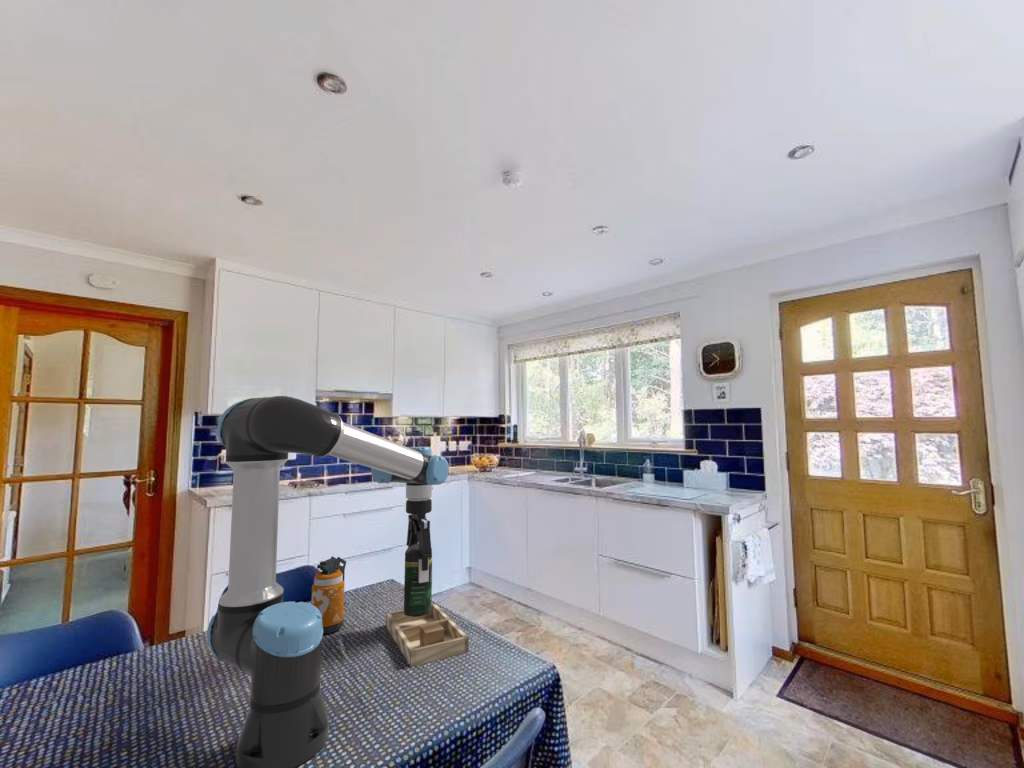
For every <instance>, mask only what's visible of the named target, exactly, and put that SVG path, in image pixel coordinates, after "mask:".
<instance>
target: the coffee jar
mask: <svg viewBox="0 0 1024 768" xmlns="http://www.w3.org/2000/svg"><path fill="white" fill-rule="evenodd" d="M431 552H432V553H433V549H432V547H431ZM404 555H405V556H404V581H403V582H404V592H403V593H404V594H403V609H404V614H405V615H406V616H412V617H420V616H423V615H427V614H429V612H430V610H431V604H432V598H433V596H432V593H433V592H432V588H433V556H432V557H429V581H428V582H423V583H419V560H418V557H420V553H419V545H418V544H413V545H412V546H410V547H409V548H408V547H407V549H406V550H405V553H404Z"/></svg>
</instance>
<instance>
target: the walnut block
mask: <svg viewBox="0 0 1024 768" xmlns="http://www.w3.org/2000/svg"><path fill="white" fill-rule="evenodd" d="M440 642H444V628H443V627H442V626H441V625H440V624H439V623H438V622H435V623H431V624H426V625H422V626H420V647H423V646H427V645H432V644H436V643H440Z"/></svg>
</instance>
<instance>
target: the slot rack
mask: <svg viewBox="0 0 1024 768" xmlns="http://www.w3.org/2000/svg"><path fill="white" fill-rule="evenodd" d="M435 622H438V623H439V624H440V625H441V626H442V627H443V628H444V642H440V643H436V644H432V645H427V646H423V647H420V626H422V625H426V624H431V623H435ZM385 627H386V628H387V630H388V633H390V635H391V636H392V638H393V641H394V643H396V645H397V646H398V649H399V650H400V652H401V653H402V655H403V656H404V658H405V660H406V662H407V663H408V665H409V666H410V668H414V667H417V666H421V665H424V664H428V663H432V662H435V661H439V660H443V659H447V658H450V657H451V658H452V657H454V656H458V655H463V654H465V653H469V636H468V635H467V634H466V633H465V632H464V631H463V630H462V629H461V627H459V626H458V625H457V624H456V623H455V622H454V621H453V620H452V619H451V618H450V617H449V616H448V615H447V614H446V613H445V612H444V611H443V610H442V609H441V608H440V607H439V606H438V605H437V604H436V603H431V610H430V612H429V614H427V615H423V616H420V617H412V616H406V615H405V614H404V608H403V609H399V610H394V611H389V612H386V613H385Z"/></svg>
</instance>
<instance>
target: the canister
mask: <svg viewBox="0 0 1024 768" xmlns="http://www.w3.org/2000/svg"><path fill="white" fill-rule="evenodd" d="M341 564H342V565H341ZM346 565H347V561H346V560H345V559H343V558H341V557H340V556H337V558H336V557H335V556H331V557H330V558H328V559H326V560H323V561H322V560H321V561H320V562H319V564H317V566H316V568H317V570H318V569H319V572H317V573H316V574H315V576H314V578H313V579H314V580H313V584H312V585H311V598H310V599H311V603H310V604H312V605H314V606H315V607H317V608H318V609H319V611H320V613H321V615H322V626H323V635H327V634H331V633H334V632H335V631H337V630H340V629H341V628H343V626H344V613H345V610H344V608H345V605H346V604H345V575H346V574H345V570H346ZM326 633H327V634H326Z"/></svg>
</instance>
